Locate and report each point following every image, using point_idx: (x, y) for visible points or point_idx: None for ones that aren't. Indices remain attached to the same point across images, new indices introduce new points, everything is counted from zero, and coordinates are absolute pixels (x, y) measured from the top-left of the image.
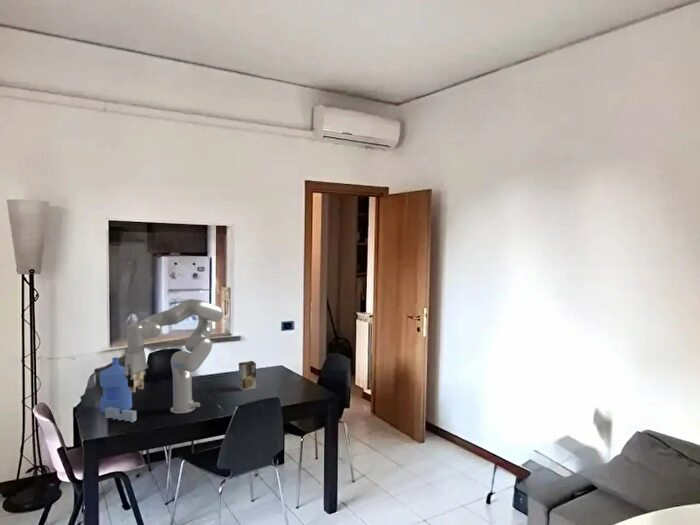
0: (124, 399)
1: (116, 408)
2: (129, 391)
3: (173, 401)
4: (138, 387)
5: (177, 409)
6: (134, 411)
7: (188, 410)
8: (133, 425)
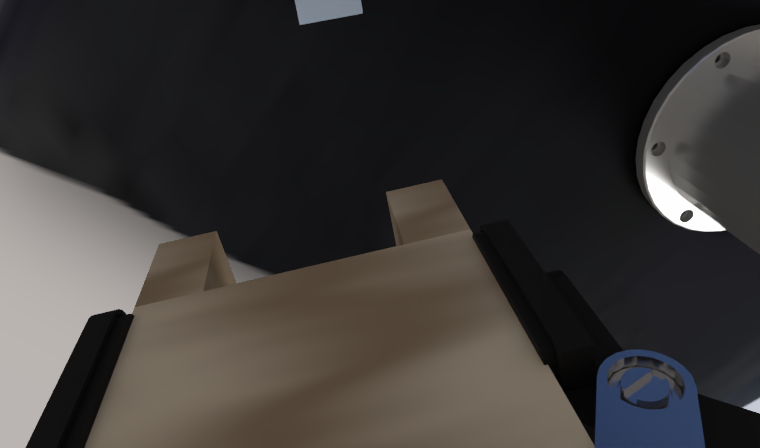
0: None
1: None
2: (159, 248)
3: (746, 126)
4: (395, 224)
5: (675, 164)
6: (337, 11)
7: (694, 229)
8: (251, 89)
